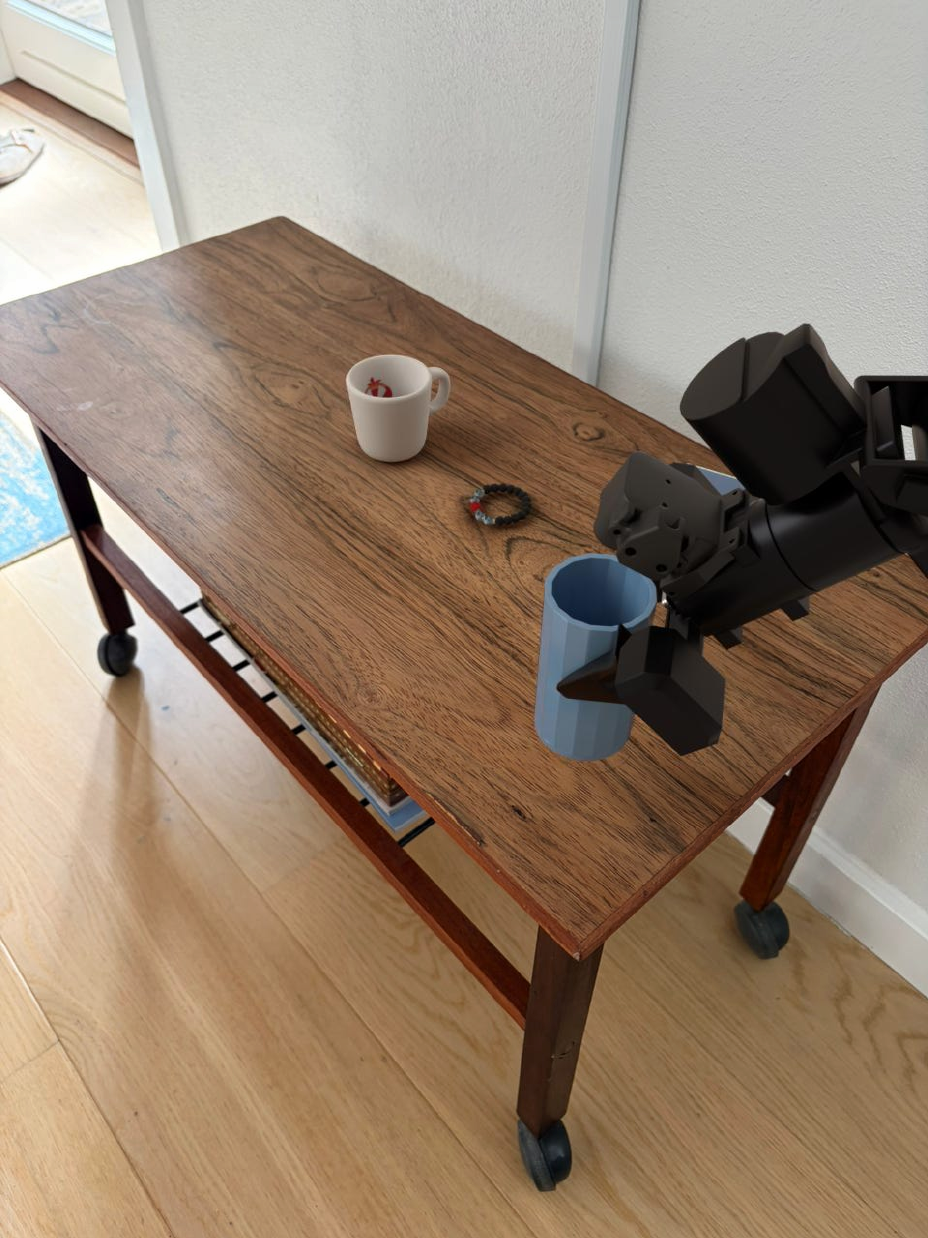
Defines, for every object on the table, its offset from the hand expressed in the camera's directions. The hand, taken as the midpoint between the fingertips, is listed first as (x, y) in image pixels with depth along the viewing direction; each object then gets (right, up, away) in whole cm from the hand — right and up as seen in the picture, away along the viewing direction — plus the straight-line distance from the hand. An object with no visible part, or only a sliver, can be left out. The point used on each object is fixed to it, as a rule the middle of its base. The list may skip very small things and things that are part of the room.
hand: (569, 650), depth 63 cm
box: (+16, +9, +28) cm, 33 cm away
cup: (-12, +19, +38) cm, 45 cm away
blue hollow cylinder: (+1, -5, +4) cm, 7 cm away
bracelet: (-3, +12, +31) cm, 33 cm away
